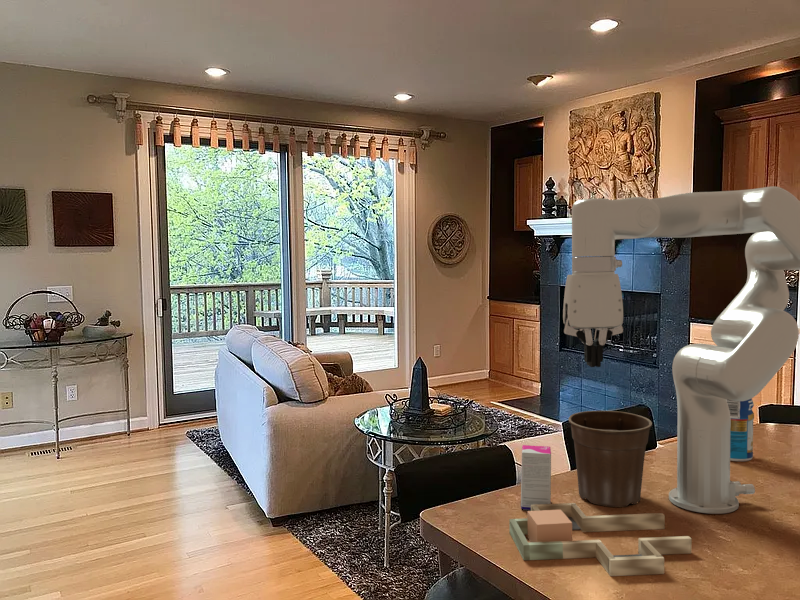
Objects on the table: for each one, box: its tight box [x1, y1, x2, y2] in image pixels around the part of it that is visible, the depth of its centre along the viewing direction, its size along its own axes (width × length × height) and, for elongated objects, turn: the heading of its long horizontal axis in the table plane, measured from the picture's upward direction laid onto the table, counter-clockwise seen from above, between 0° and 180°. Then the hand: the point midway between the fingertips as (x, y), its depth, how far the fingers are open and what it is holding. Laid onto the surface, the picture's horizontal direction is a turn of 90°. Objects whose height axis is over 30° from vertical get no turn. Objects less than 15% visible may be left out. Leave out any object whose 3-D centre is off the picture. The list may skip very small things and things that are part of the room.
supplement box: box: [520, 444, 552, 511], centre depth 132 cm, size 6×6×12 cm
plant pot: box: [568, 410, 653, 508], centre depth 135 cm, size 16×16×16 cm
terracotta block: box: [526, 509, 573, 542], centre depth 114 cm, size 6×6×5 cm
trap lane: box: [508, 502, 692, 577], centre depth 114 cm, size 28×24×2 cm
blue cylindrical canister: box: [726, 398, 755, 462], centre depth 160 cm, size 8×8×20 cm
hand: (593, 365), depth 123 cm, fingers closed
